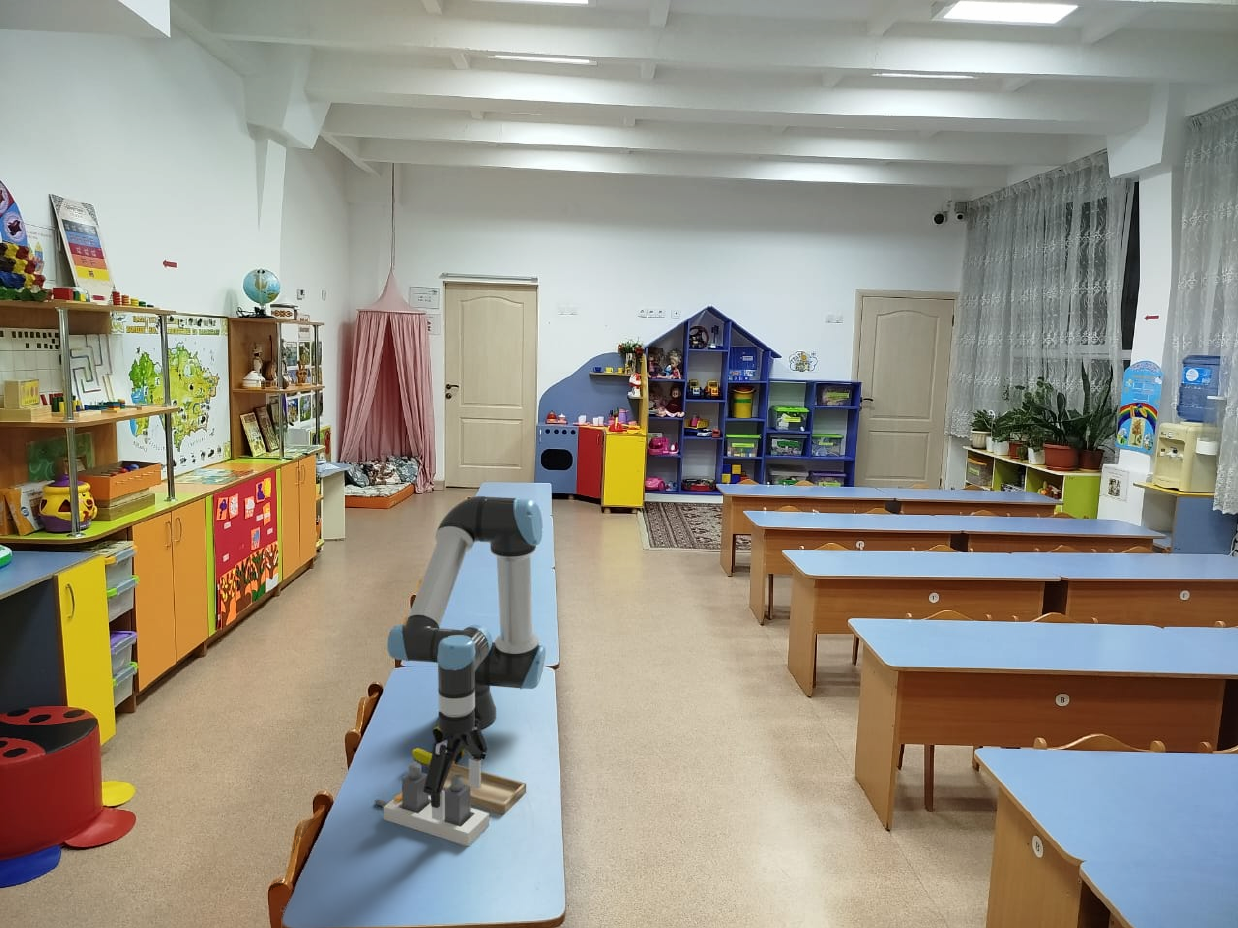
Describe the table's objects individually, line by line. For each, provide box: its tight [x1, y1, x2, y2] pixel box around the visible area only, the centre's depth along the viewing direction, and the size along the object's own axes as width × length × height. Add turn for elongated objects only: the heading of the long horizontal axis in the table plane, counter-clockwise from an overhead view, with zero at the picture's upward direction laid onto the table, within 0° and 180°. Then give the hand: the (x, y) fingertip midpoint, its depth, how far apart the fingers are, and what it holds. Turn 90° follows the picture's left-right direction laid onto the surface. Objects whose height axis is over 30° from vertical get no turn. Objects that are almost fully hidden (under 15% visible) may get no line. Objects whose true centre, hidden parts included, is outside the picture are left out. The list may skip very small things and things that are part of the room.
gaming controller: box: [411, 725, 466, 769], centre depth 207 cm, size 15×6×10 cm
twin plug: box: [401, 762, 429, 813], centre depth 183 cm, size 4×4×12 cm
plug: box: [444, 775, 471, 827], centre depth 179 cm, size 4×4×12 cm
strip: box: [374, 791, 490, 847], centre depth 182 cm, size 8×28×4 cm, turn 66°
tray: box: [442, 763, 527, 815], centre depth 194 cm, size 10×21×2 cm, turn 66°
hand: (457, 802), depth 179 cm, fingers open, 13 cm apart
